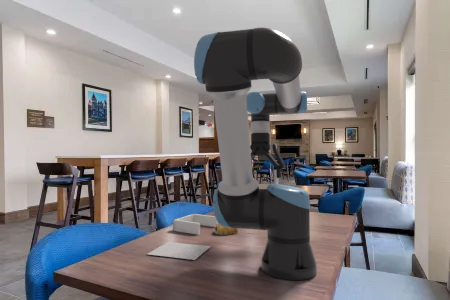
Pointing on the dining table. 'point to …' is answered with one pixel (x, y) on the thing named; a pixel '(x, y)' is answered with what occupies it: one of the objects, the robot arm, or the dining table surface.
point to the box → (193, 223)
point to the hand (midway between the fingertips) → (260, 185)
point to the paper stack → (180, 250)
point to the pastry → (225, 230)
